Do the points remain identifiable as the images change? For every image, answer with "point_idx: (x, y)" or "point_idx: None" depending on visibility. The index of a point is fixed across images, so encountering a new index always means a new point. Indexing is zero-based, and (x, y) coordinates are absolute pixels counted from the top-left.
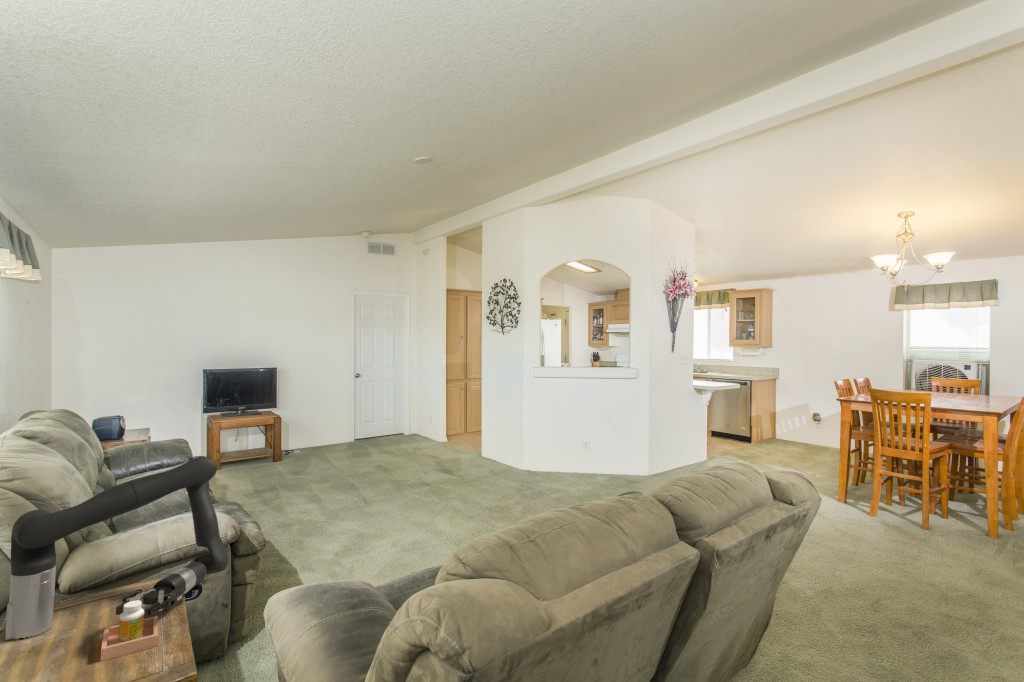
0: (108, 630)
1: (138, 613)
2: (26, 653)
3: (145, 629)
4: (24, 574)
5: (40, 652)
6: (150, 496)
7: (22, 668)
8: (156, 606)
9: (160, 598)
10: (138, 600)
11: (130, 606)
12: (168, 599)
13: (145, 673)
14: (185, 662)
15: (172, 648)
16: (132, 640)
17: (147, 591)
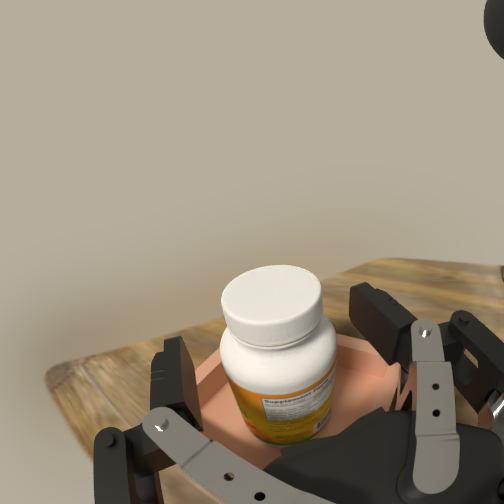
0: (375, 353)
1: (224, 338)
2: (442, 274)
3: None
4: None
5: (430, 285)
6: None
7: (382, 266)
8: (154, 387)
9: (197, 451)
10: (282, 316)
11: (245, 275)
12: (120, 458)
13: (111, 350)
14: (52, 392)
15: None
16: (210, 366)
17: (450, 428)
